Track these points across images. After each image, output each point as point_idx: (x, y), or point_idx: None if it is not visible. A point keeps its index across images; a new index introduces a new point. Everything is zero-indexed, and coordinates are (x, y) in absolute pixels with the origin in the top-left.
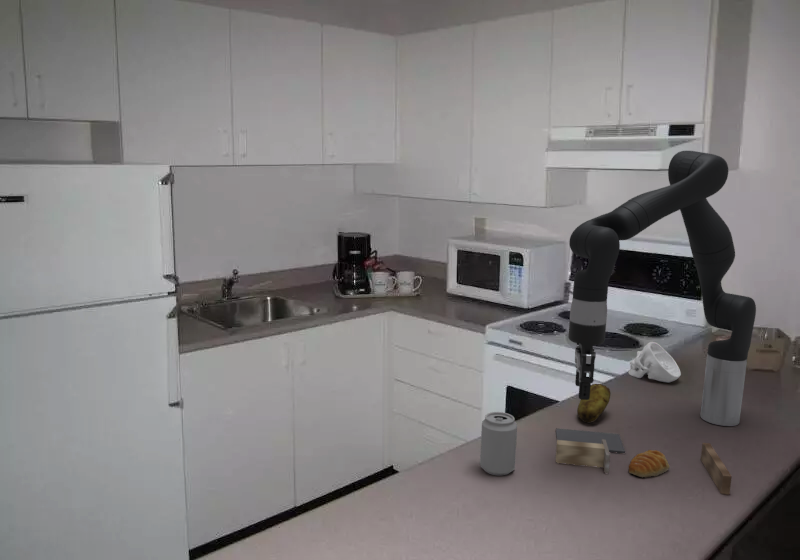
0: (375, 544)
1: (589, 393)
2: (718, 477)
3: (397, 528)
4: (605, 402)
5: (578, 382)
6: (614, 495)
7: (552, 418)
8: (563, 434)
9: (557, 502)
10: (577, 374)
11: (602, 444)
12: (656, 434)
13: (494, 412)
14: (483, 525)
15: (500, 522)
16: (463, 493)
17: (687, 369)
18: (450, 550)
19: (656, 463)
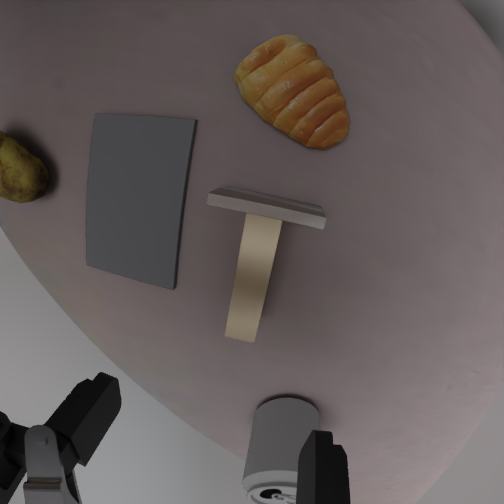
0: (424, 483)
1: (332, 457)
2: None
3: (408, 479)
4: (3, 141)
5: (112, 412)
6: (421, 232)
7: (41, 250)
8: (112, 257)
9: (421, 348)
10: (95, 447)
11: (250, 217)
12: (93, 29)
13: (250, 499)
14: (437, 430)
15: (440, 417)
16: (359, 449)
17: None
18: (460, 446)
19: (324, 73)
